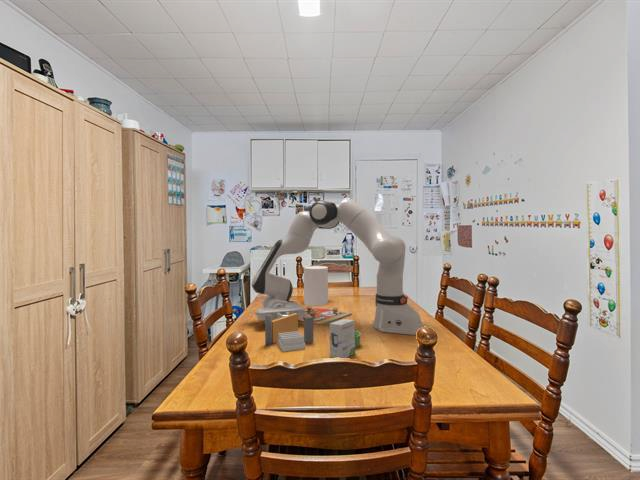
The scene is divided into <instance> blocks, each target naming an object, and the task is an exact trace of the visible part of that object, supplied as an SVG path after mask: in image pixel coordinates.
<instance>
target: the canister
mask: <svg viewBox="0 0 640 480" xmlns="http://www.w3.org/2000/svg"><path fill="white" fill-rule="evenodd" d="M303 304H304V305H306V306H316V307H317V306H325V305H328V304H329V268H328V266H325V265H307V266H303Z"/></svg>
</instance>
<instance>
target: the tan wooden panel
mask: <svg viewBox="0 0 640 480" xmlns="http://www.w3.org/2000/svg"><path fill="white" fill-rule="evenodd" d="M295 331H299V321H298V314H296V313H294V314H291V315H288V316H285V317H281V318H278V319H275V320H272V345H273V344H277V343H278V333H286V332H295Z"/></svg>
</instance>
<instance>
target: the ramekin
mask: <svg viewBox="0 0 640 480" xmlns="http://www.w3.org/2000/svg"><path fill="white" fill-rule="evenodd" d="M361 336H362V333H361V332H360V331H358V330H355V349H356V348H358V347H359V346H360V344H361V343H360V342H361Z"/></svg>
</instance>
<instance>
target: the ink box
mask: <svg viewBox="0 0 640 480" xmlns="http://www.w3.org/2000/svg"><path fill="white" fill-rule="evenodd" d="M328 325H329V330H328V331H329V358H331V357H340V358H346V359H348V358H349V357H352V356H353V355H355V354H356V348H355V331H356V330H355V328H356V327H355V320H353V319H347V318H342V319H340V320H337V321H334V322H332V323H329V324H328Z"/></svg>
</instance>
